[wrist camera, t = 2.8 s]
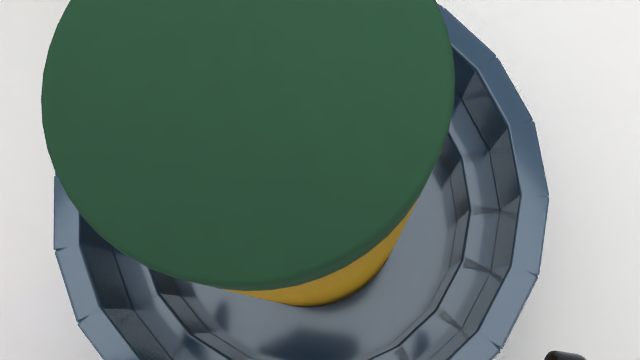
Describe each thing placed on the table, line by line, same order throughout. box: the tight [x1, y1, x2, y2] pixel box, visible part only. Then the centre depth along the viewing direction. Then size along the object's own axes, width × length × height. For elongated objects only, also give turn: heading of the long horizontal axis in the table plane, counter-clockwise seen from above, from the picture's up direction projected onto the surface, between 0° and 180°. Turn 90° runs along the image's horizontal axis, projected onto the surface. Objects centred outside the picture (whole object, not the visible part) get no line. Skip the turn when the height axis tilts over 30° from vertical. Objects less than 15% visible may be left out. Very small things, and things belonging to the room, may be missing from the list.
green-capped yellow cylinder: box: [41, 0, 455, 307], centre depth 13 cm, size 6×6×11 cm
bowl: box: [54, 4, 549, 360], centre depth 17 cm, size 12×12×5 cm
